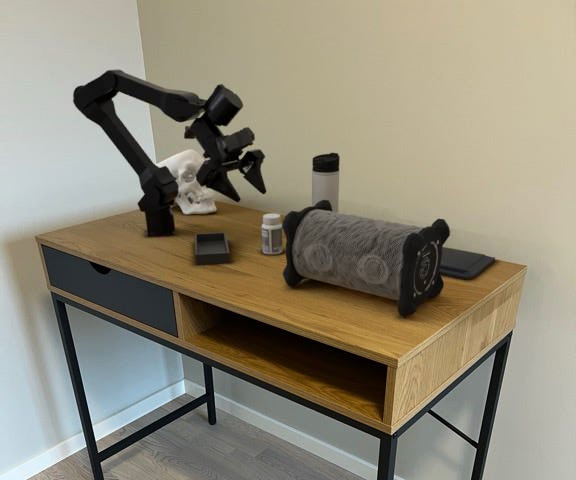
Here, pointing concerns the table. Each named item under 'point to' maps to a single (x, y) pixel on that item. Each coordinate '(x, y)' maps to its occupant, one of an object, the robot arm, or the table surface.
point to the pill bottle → (272, 234)
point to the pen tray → (211, 248)
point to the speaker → (365, 254)
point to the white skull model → (189, 183)
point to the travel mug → (326, 179)
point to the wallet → (463, 263)
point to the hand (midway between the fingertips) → (252, 197)
